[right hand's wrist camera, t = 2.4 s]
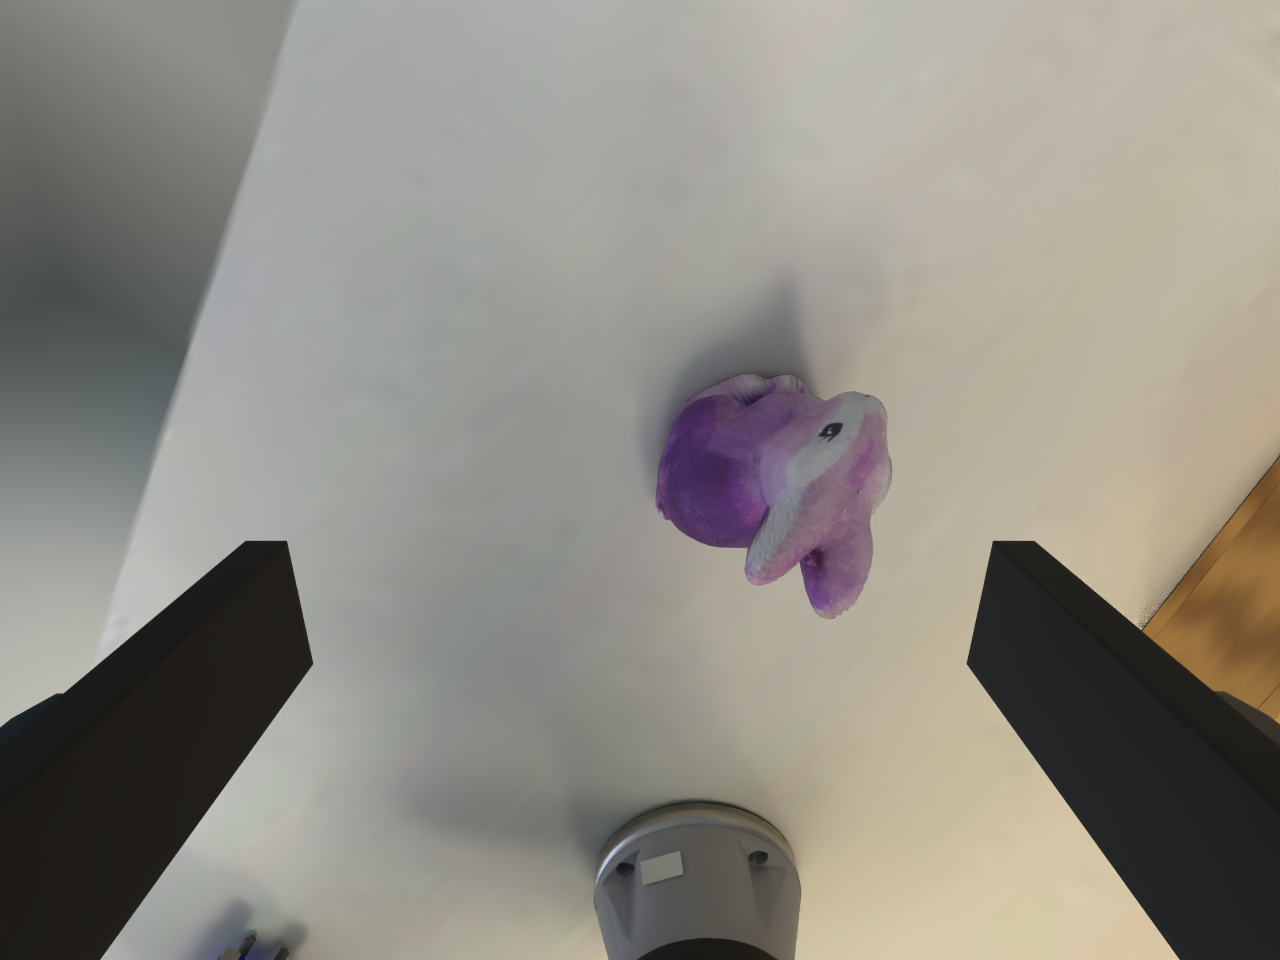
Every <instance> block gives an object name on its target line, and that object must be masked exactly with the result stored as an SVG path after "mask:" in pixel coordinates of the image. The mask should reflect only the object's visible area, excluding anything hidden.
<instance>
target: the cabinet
mask: <svg viewBox="0 0 1280 960" xmlns="http://www.w3.org/2000/svg"><path fill="white" fill-rule="evenodd" d="M1142 632H1144V633H1145V634H1146V635H1147V636H1148V637H1150V638H1151V639H1152V640H1153V641H1154V642H1156V643H1157V644H1158V645H1159V646H1160V647H1161V648H1163V649H1164V650H1165V651H1166V652H1167V653H1169V654H1170V655H1171V656H1172V657H1173V658H1175V659H1176V660H1177V661H1178V662H1179V663H1181V664H1182V665H1183V666H1184V667H1185V668H1187V669H1188V670H1189V671H1190V672H1191V673H1193V674H1194V675H1195V676H1196V677H1197V678H1198V679H1200V680H1201V681H1202V682H1203V683H1204V684H1206V685H1207V686H1208V687H1209V688H1210V689H1212V690H1213V691H1225V692H1227V693H1228V694H1230V695H1232V696H1234V697H1236V698H1238V699H1239V700H1241V701H1243V702H1245V703H1247V704H1248V705H1250V706H1252V707H1254V708H1256V709H1258V710H1259V711H1261V712H1263V713H1265V714H1267V715H1268V716H1270V717H1271V718H1273V719H1274V720H1275V721H1276V722H1278V723H1279V724H1280V457H1279V458H1278V460H1277V461H1276V462H1275V463H1274V465H1273V466H1272V467H1271V468H1270V470H1269V471H1268V472H1267V473H1266V475H1265V476H1264V477H1263V479H1262V480H1261V481H1260V482H1259V484H1258V485H1257V486H1256V487H1255V489H1254V490H1253V491H1252V492H1251V494H1250V495H1249V496H1248V498H1247V499H1246V500H1245V501H1244V503H1243V504H1242V505H1241V506H1240V508H1239V509H1238V510H1237V511H1236V513H1235V514H1234V515H1233V517H1232V518H1231V519H1230V520H1229V522H1228V523H1227V524H1226V525H1225V527H1224V528H1223V529H1222V530H1221V532H1220V533H1219V534H1218V536H1217V537H1216V538H1215V539H1214V541H1213V542H1212V543H1211V544H1210V546H1209V547H1208V548H1207V549H1206V551H1205V552H1204V553H1203V555H1202V556H1201V557H1200V558H1199V560H1198V561H1197V562H1196V563H1195V565H1194V566H1193V567H1192V568H1191V570H1190V571H1189V572H1188V574H1187V575H1186V576H1185V577H1184V579H1183V580H1182V581H1181V582H1180V584H1179V585H1178V586H1177V587H1176V589H1175V590H1174V591H1173V593H1172V594H1171V595H1170V596H1169V598H1168V599H1167V600H1166V601H1165V603H1164V604H1163V605H1162V607H1161V608H1160V609H1159V610H1158V612H1157V613H1156V614H1155V615H1154V617H1153V618H1152V619H1151V620H1150V622H1149V623H1148V624H1147V626H1146V627H1145V628H1144V629H1143V631H1142Z"/></svg>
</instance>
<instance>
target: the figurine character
mask: <svg viewBox="0 0 1280 960" xmlns="http://www.w3.org/2000/svg"><path fill="white" fill-rule="evenodd" d="M255 940H256V938H255V936H254V935H252V936H249V937H247V938H246V939H245V940H244V942H243V944H242V945H241V947H240V948H239V950H238V952H237V951H235V950H233V949H230V948H228V947H227V948H226V949H225V951H224V952H223V954H222V956H220V957H219V958H218V960H245V957H246V955H247V953H248V952H249V950H250V948H251V947H252V945H253V943H254V942H255ZM287 956H288V950H287V948H281V949H280V951H279V952H278V954H277V956H276V957H275V959H274V960H285V959H286V958H287Z"/></svg>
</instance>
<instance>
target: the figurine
mask: <svg viewBox="0 0 1280 960" xmlns="http://www.w3.org/2000/svg"><path fill="white" fill-rule="evenodd" d="M886 430H887V412H886V410H885V408H884V406H883V404H882V402H880V401H879V399H877V398H875V397H874V396H869V395H866V394H862V393H858V392H855V391H852V392H844V393H841V394H838V395H837V396H835V397H833V398H831V399H829V400H828V401H824V400H822V399H820V398H818V397H815V396H813V394H812V393H811V391H810V390H808V387H807V386H805V383H803V381H802V380H800V379H798V378H797V377H796V376H793V375H781V376H776V377H773V378H770V379H764V378H762V377H760V376H758V375H756V374H741V375H738V376H735V377H732V378H730V379H727V380H726V381H722V382H720V383H719V384H716V385H714V386H711V387H709V388H707V389H705V390H704V391H702V392H700V393H698V394H696V395H695V396H693V397H691V398H690V399H689V400H687V401H686V402H685V403H684V404H683V406H682V407H681V408H680V409H679V411H678V412H677V413H676V415H675V418H674V422H673V426H672V429H671V431H670V435H669V439H668V442H667V445H666V447H665V450H664V452H663V454H662V457H661V460H660V463H659V469H658V483H657V490H656V510H657V513H658V515H659V516H660V517H661V518H663V519H665V520H671V521H672V522H673V524H674V525H675V526H676V527H677V528H678V529H679V530H680V531H682V532H683V533H684V534H686V535H687V536H689V537H691V538H693V539H695V540H696V541H698V542H700V543H703V544H706V545H709V546H714V547H724V548H748V550H747V557H746V563H745V573H746V577H747V580H748V581H749V582H751V583H752V584H754V585H757V586H759V585H763V584H767V583H770V582H772V581H775V580H777V579H778V578H779V577H781V576H783V575H784V574H785V573H786V572H788V571H789V570H790V569H791V568H793V567H794V566H795V565H796V564H797V563H798V562H800V567H801V571H802V575H803V579H804V584H805V589H806V592H807V595H808V598H809V600H810V603H811V605H812V607H813V609H814V610H815V612H816V613H817V614H818V615H820V616H821V617H823V618H825V619H832V618H835V617H836V616H837V615H841V614H842V612H843V611H845V610H848V609H849V607H850V606H852V605H854V604H855V602H856V601H857V598H858V597H859V595H860V594H861V592H862V591H863V587H864V584H865V583H866V581H867V578H868V573H869V571H870V568H871V561H872V555H873V542H872V535H871V529H870V518H871V517H872V515H873V514H874V512H875V511H876V509H877V508H878V506H879V505H880V504H881V502H882V501H883V499H884V497H885V496H886V494H887V492H888V490H889V487H890V485H891V478H892V465H891V459H890V457H889V455H888V448H887V437H886Z"/></svg>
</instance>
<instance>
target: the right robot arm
mask: <svg viewBox="0 0 1280 960" xmlns="http://www.w3.org/2000/svg"><path fill="white" fill-rule="evenodd" d="M312 665H313V660H312V655H311V651H310V646H309V641H308V637H307V632H306V628H305V623H304V618H303V614H302V609H301V604H300V600H299V595H298V590H297V586H296V581H295V576H294V572H293V567H292V562H291V558H290V553H289V548H288V544H287V541H245V542H244V543H243V544H241V545H240V546H239V547H238V548H237V549H235V550H234V551H233V552H232V553H231V554H229V555H228V556H227V557H226V558H225V559H223V560H222V561H221V562H220V563H219V564H218V565H216V566H215V567H214V568H213V569H212V570H210V571H209V572H208V573H207V574H206V575H204V576H203V577H202V578H201V579H200V580H198V581H197V582H196V583H195V584H194V585H192V586H191V587H190V588H189V589H188V590H187V591H185V592H184V593H183V594H182V595H181V596H179V597H178V598H177V599H176V600H175V601H173V602H172V603H171V604H170V605H169V606H167V607H166V608H165V609H164V610H163V611H161V612H160V613H159V614H158V615H157V616H155V617H154V618H153V619H152V620H151V621H150V622H148V623H147V624H146V625H145V626H144V627H142V628H141V629H140V630H139V631H138V632H136V633H135V634H134V635H133V636H132V637H130V638H129V639H128V640H127V641H126V642H124V643H123V644H122V645H121V646H120V647H119V648H117V649H116V650H115V651H114V652H113V653H111V654H110V655H109V656H108V657H107V658H105V659H104V660H103V661H102V662H101V663H99V664H98V665H97V666H96V667H95V668H93V669H92V670H91V671H90V672H89V673H88V674H86V675H85V676H84V677H83V678H82V679H80V680H79V681H78V682H77V683H76V684H74V685H73V686H72V687H71V688H70V689H68V690H67V691H66V692H65V693H64V694H55V695H53V696H51V697H50V698H48V699H46V700H44V701H42V702H41V703H39V704H37V705H35V706H33V707H31V708H30V709H28V710H26V711H24V712H22V713H21V714H19V715H17V716H15V717H13V718H12V719H10V720H9V721H8V722H6V723H5V724H4V725H3V726H2V727H0V960H100V959H101V958H102V957H103V955H104V954H105V952H106V951H107V950H108V948H109V947H110V945H111V944H112V943H113V941H114V940H115V938H116V937H117V936H118V934H119V933H120V932H121V930H122V929H123V927H124V926H125V925H126V923H127V922H128V920H129V919H130V918H131V916H132V915H133V913H134V912H135V911H136V909H137V908H138V907H139V905H140V904H141V902H142V901H143V900H144V898H145V897H146V895H147V894H148V893H149V891H150V890H151V889H152V887H153V886H154V884H155V883H156V882H157V880H158V879H159V877H160V876H161V875H162V873H163V872H164V870H165V869H166V868H167V866H168V865H169V864H170V862H171V861H172V859H173V858H174V857H175V855H176V854H177V852H178V851H179V850H180V848H181V847H182V845H183V844H184V843H185V841H186V840H187V839H188V837H189V836H190V834H191V833H192V832H193V830H194V829H195V827H196V826H197V825H198V823H199V822H200V820H201V819H202V818H203V816H204V815H205V814H206V812H207V811H208V809H209V808H210V807H211V805H212V804H213V802H214V801H215V800H216V798H217V797H218V795H219V794H220V793H221V791H222V790H223V789H224V787H225V786H226V784H227V783H228V782H229V780H230V779H231V777H232V776H233V775H234V773H235V772H236V771H237V769H238V768H239V766H240V765H241V764H242V762H243V761H244V759H245V758H246V757H247V755H248V754H249V752H250V751H251V750H252V748H253V747H254V746H255V744H256V743H257V741H258V740H259V739H260V737H261V736H262V734H263V733H264V732H265V730H266V729H267V727H268V726H269V725H270V723H271V722H272V721H273V719H274V718H275V716H276V715H277V714H278V712H279V711H280V709H281V708H282V707H283V705H284V704H285V702H286V701H287V700H288V698H289V697H290V696H291V694H292V693H293V691H294V690H295V689H296V687H297V686H298V684H299V683H300V682H301V680H302V679H303V677H304V676H305V675H306V673H307V672H308V671H309V669H310V668H311V666H312ZM967 665H968V666H969V668H970V669H971V671H972V672H973V673H974V675H975V676H976V677H977V679H978V680H979V682H980V683H981V684H982V686H983V687H984V689H985V690H986V691H987V693H988V694H989V696H990V697H991V698H992V700H993V701H994V702H995V704H996V705H997V707H998V708H999V709H1000V711H1001V712H1002V714H1003V715H1004V716H1005V718H1006V719H1007V721H1008V722H1009V723H1010V725H1011V726H1012V727H1013V729H1014V730H1015V732H1016V733H1017V734H1018V736H1019V737H1020V739H1021V740H1022V741H1023V743H1024V744H1025V746H1026V747H1027V748H1028V750H1029V751H1030V752H1031V754H1032V755H1033V757H1034V758H1035V759H1036V761H1037V762H1038V764H1039V765H1040V766H1041V768H1042V769H1043V771H1044V772H1045V773H1046V775H1047V776H1048V777H1049V779H1050V780H1051V782H1052V783H1053V784H1054V786H1055V787H1056V789H1057V790H1058V791H1059V793H1060V794H1061V795H1062V797H1063V798H1064V800H1065V801H1066V802H1067V804H1068V805H1069V807H1070V808H1071V809H1072V811H1073V812H1074V814H1075V815H1076V816H1077V818H1078V819H1079V820H1080V822H1081V823H1082V825H1083V826H1084V827H1085V829H1086V830H1087V832H1088V833H1089V834H1090V836H1091V837H1092V839H1093V840H1094V841H1095V843H1096V844H1097V845H1098V847H1099V848H1100V850H1101V851H1102V852H1103V854H1104V855H1105V857H1106V858H1107V859H1108V861H1109V862H1110V864H1111V865H1112V866H1113V868H1114V869H1115V870H1116V872H1117V873H1118V875H1119V876H1120V877H1121V879H1122V880H1123V882H1124V883H1125V884H1126V886H1127V887H1128V889H1129V890H1130V891H1131V893H1132V894H1133V895H1134V897H1135V898H1136V900H1137V901H1138V902H1139V904H1140V905H1141V907H1142V908H1143V909H1144V911H1145V912H1146V913H1147V915H1148V916H1149V918H1150V919H1151V920H1152V922H1153V923H1154V925H1155V926H1156V927H1157V929H1158V930H1159V932H1160V933H1161V934H1162V936H1163V937H1164V938H1165V940H1166V941H1167V943H1168V944H1169V945H1170V947H1171V948H1172V950H1173V951H1174V952H1175V954H1176V955H1177V957H1178V958H1179V959H1180V960H1280V724H1279V723H1278V722H1276V721H1275V720H1274V719H1273V718H1271V717H1270V716H1268V715H1267V714H1265V713H1263V712H1261V711H1259V710H1258V709H1256V708H1254V707H1252V706H1250V705H1248V704H1247V703H1245V702H1243V701H1241V700H1239V699H1238V698H1236V697H1234V696H1232V695H1230V694H1228V693H1227V692H1225V691H1213V690H1212V689H1210V688H1209V687H1208V686H1207V685H1206V684H1204V683H1203V682H1202V681H1201V680H1200V679H1198V678H1197V677H1196V676H1195V675H1194V674H1193V673H1191V672H1190V671H1189V670H1188V669H1187V668H1185V667H1184V666H1183V665H1182V664H1181V663H1179V662H1178V661H1177V660H1176V659H1175V658H1173V657H1172V656H1171V655H1170V654H1169V653H1167V652H1166V651H1165V650H1164V649H1163V648H1161V647H1160V646H1159V645H1158V644H1157V643H1156V642H1154V641H1153V640H1152V639H1151V638H1150V637H1148V636H1147V635H1146V634H1145V633H1144V632H1142V631H1141V630H1140V629H1139V628H1138V627H1136V626H1135V625H1134V624H1133V623H1132V622H1130V621H1129V620H1128V619H1127V618H1126V617H1125V616H1123V615H1122V614H1121V613H1120V612H1119V611H1117V610H1116V609H1115V608H1114V607H1113V606H1111V605H1110V604H1109V603H1108V602H1107V601H1105V600H1104V599H1103V598H1102V597H1101V596H1099V595H1098V594H1097V593H1096V592H1095V591H1093V590H1092V589H1091V588H1090V587H1089V586H1088V585H1086V584H1085V583H1084V582H1083V581H1082V580H1080V579H1079V578H1078V577H1077V576H1076V575H1074V574H1073V573H1072V572H1071V571H1070V570H1068V569H1067V568H1066V567H1065V566H1064V565H1062V564H1061V563H1060V562H1059V561H1058V560H1057V559H1055V558H1054V557H1053V556H1052V555H1051V554H1049V553H1048V552H1047V551H1046V550H1045V549H1043V548H1042V547H1041V546H1040V545H1039V544H1037V543H1036V542H1035V541H993V544H992V548H991V553H990V558H989V562H988V567H987V572H986V576H985V581H984V586H983V590H982V595H981V600H980V604H979V609H978V614H977V618H976V623H975V627H974V632H973V637H972V641H971V646H970V651H969V655H968V660H967ZM800 900H801V886H800V881H799V876H798V872H797V868H796V864H795V860H794V856H793V853H792V851H791V849H790V847H789V845H788V844H787V842H786V841H785V839H784V838H783V837H782V835H781V834H780V833H779V832H778V831H777V830H776V829H774V828H773V827H772V826H771V825H770V824H768V823H767V822H765V821H764V820H762V819H760V818H758V817H757V816H755V815H753V814H750V813H748V812H746V811H743V810H740V809H737V808H733V807H729V806H724V805H718V804H709V803H688V804H679V805H673V806H668V807H664V808H660V809H657V810H654V811H651V812H648V813H646V814H644V815H642V816H639V817H637V818H636V819H634V820H632V821H630V822H629V823H627V824H626V825H625V826H623V827H622V828H621V829H620V830H618V831H617V832H616V833H615V834H614V835H613V836H612V837H611V838H610V840H609V841H608V842H607V844H606V845H605V846H604V848H603V850H602V852H601V854H600V856H599V858H598V862H597V865H596V872H595V886H594V904H595V910H596V914H597V917H598V921H599V925H600V928H601V932H602V936H603V940H604V943H605V947H606V951H607V955H608V958H609V960H794V959H795V949H796V939H797V930H798V920H799V910H800Z"/></svg>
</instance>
